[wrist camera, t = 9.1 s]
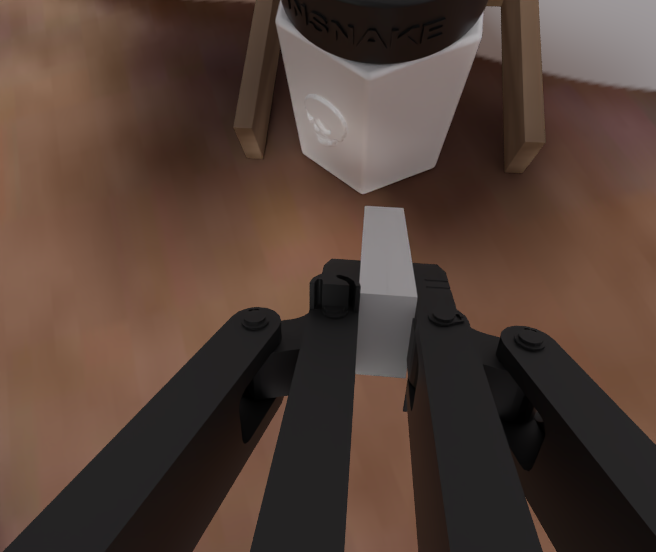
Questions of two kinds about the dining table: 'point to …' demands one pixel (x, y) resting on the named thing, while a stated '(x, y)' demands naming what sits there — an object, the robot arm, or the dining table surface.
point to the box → (517, 78)
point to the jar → (376, 81)
